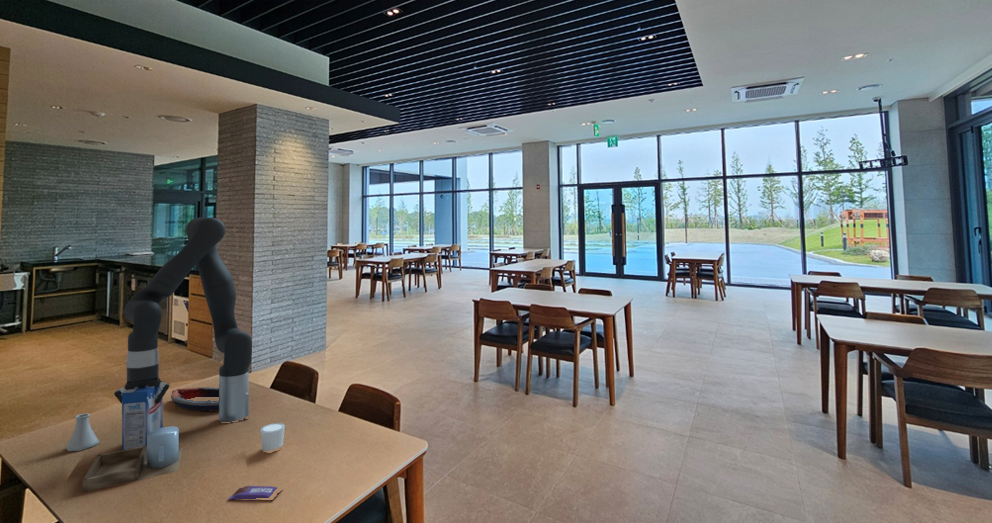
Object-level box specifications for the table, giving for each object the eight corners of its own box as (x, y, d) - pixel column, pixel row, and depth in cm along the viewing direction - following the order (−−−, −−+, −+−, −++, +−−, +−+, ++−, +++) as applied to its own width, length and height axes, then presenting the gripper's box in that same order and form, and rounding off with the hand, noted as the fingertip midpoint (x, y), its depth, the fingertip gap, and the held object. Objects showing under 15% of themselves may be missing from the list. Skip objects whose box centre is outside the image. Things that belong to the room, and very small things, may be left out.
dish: (211, 418, 149) (211, 405, 148) (156, 405, 158) (156, 393, 158) (249, 403, 163) (249, 391, 163) (196, 392, 173) (196, 381, 173)
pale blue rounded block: (179, 453, 120) (179, 424, 120) (176, 466, 113) (176, 435, 113) (149, 460, 116) (149, 429, 116) (144, 473, 109) (144, 441, 109)
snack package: (283, 484, 106) (273, 496, 101) (283, 492, 106) (273, 504, 101) (240, 484, 106) (227, 495, 101) (240, 491, 106) (227, 503, 101)
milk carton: (147, 455, 121) (147, 391, 121) (121, 458, 119) (121, 393, 118) (162, 440, 131) (162, 380, 130) (139, 443, 129) (139, 382, 128)
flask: (77, 453, 122) (77, 421, 121) (59, 450, 123) (59, 418, 123) (105, 442, 129) (104, 412, 128) (87, 439, 130) (87, 409, 130)
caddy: (182, 452, 124) (182, 438, 124) (177, 475, 111) (178, 460, 111) (98, 470, 113) (98, 454, 113) (82, 498, 101) (82, 480, 100)
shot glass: (289, 446, 129) (289, 425, 129) (269, 456, 123) (269, 434, 123) (275, 441, 132) (275, 421, 132) (255, 451, 126) (255, 429, 125)
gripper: (172, 357, 131) (172, 409, 132) (115, 363, 123) (115, 418, 124) (170, 363, 125) (170, 417, 125) (109, 369, 117) (109, 427, 118)
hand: (143, 417), depth 125 cm, fingers closed on milk carton, 2 cm apart
